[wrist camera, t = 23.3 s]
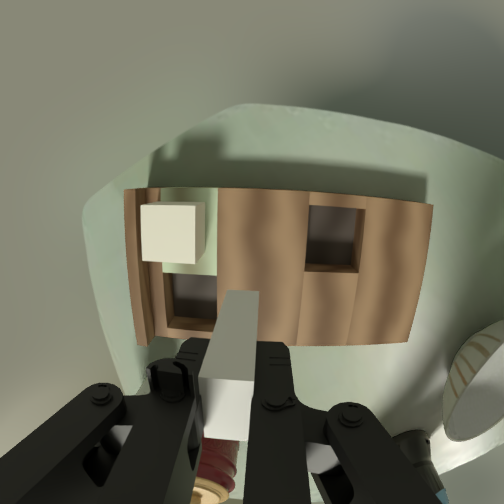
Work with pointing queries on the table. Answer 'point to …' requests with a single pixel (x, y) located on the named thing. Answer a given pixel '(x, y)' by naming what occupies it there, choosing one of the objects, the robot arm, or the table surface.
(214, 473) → the canister
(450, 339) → the table surface
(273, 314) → the board
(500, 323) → the decorative bowl
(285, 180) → the table surface
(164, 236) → the block
